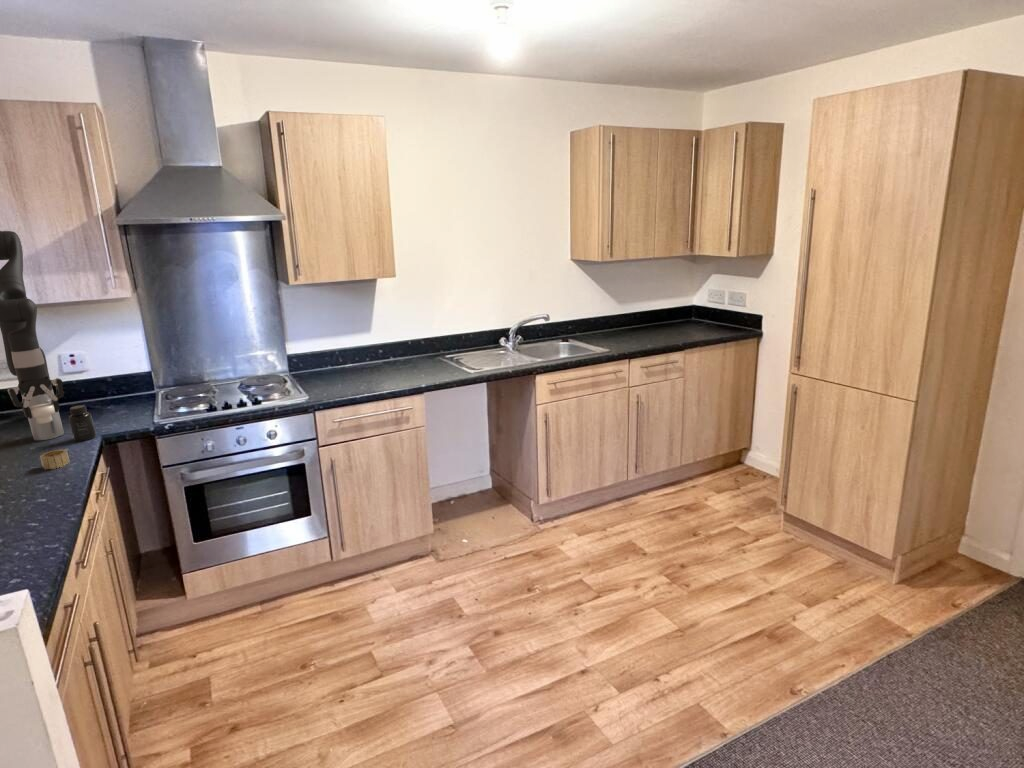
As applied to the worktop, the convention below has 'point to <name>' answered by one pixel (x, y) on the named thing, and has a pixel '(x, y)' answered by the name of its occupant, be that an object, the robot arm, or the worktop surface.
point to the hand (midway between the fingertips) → (43, 414)
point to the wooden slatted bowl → (54, 459)
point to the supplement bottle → (81, 423)
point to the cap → (43, 412)
